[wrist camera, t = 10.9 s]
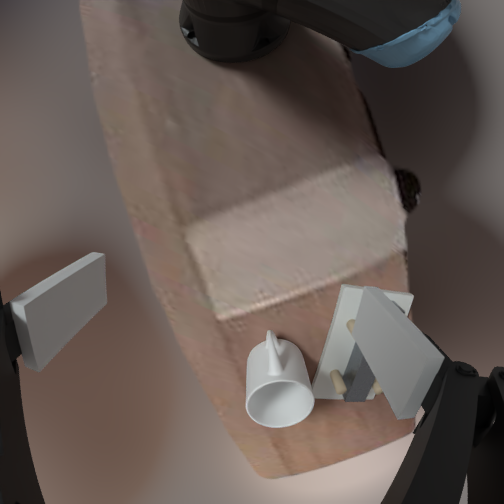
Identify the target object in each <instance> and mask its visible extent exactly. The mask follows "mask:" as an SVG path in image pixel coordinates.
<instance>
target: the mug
mask: <svg viewBox="0 0 504 504" xmlns="http://www.w3.org/2000/svg"><path fill="white" fill-rule="evenodd" d="M314 401H315V400H314V395H313V391H312V387H311V383H310V380H309V376H308V372H307V369H306V365H305V362H304V358H303V355H302V353H301V351H300V350H299V348H298V347H297V346H296V345H295V344H293V343H292V342H290V341H287V340H283V339H277V337H276V335H275V334H274V332H273V331H272V330H268V332H267V337H266V341H264V342H261V343H260V344H258V345H257V346H255V347H254V348H253V349H252V351H251V352H250V354H249V357H248V360H247V379H246V410H247V413H248V414H249V416H250V417H251V418H252V419H253V420H254V421H255V422H257V423H258V424H261V425H263V426H267V427H273V428H281V427H288V426H292V425H294V424H297V423H299V422H300V421H302V420H304V419H305V418H306V417H307V416H308V415H309V414H310V413H311V411H312V409H313V407H314Z"/></svg>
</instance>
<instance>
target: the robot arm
mask: <svg viewBox="0 0 504 504" xmlns="http://www.w3.org/2000/svg"><path fill="white" fill-rule="evenodd" d="M460 13H461V3H460V1H459V0H183V1H182V5H181V10H180V15H179V23H180V29H181V31H182V34H183V36H184V38H185V40H186V41H187V43H188V44H189V46H190V47H191V48H192V49H193V50H195V51H196V52H197V53H199V54H200V55H202V56H204V57H206V58H209V59H212V60H215V61H220V62H229V63H235V62H245V61H250V60H254V59H257V58H260V57H262V56H264V55H266V54H268V53H270V52H271V51H273V50H274V49H275V48H276V47H278V46H279V45H280V44H281V42H282V41H283V40H284V38H285V36H286V35H287V32H288V29H289V25H290V21H293V22H295V23H298V24H300V25H302V26H305V27H307V28H309V29H312V30H314V31H316V32H318V33H320V34H322V35H324V36H327V37H329V38H331V39H333V40H335V41H337V42H339V43H341V44H342V45H344V46H346V47H348V48H349V49H350V50H351V51H352V52H354V53H357V54H363V55H365V56H366V57H368V58H370V59H372V60H374V61H376V62H378V63H379V64H381V65H383V66H387V67H390V68H396V67H405V66H408V65H410V64H413V63H415V62H417V61H419V60H420V59H422V58H423V57H425V56H426V55H428V54H429V53H430V52H432V51H433V50H434V49H435V48H436V47H437V46H438V45H440V43H441V42H442V41H443V40H444V39H445V38H446V37H447V36H448V35H449V33H450V32H451V31H452V25H453V24H454V23H456V22H457V21H458V19H459V16H460ZM106 304H107V295H106V272H105V254H102V253H96V252H92V253H90V254H88V255H87V256H85V257H83V258H81V259H79V260H78V261H76V262H74V263H72V264H71V265H69V266H67V267H65V268H64V269H62V270H60V271H59V272H57V273H55V274H53V275H52V276H50V277H48V278H47V279H45V280H43V281H42V282H40V283H38V284H37V285H35V286H34V287H32V288H30V289H28V290H27V291H25V292H24V293H22V294H20V295H19V296H17V297H16V298H14V299H12V300H11V301H9V302H8V303H6V304H5V305H3V303H2V298H1V292H0V504H45V502H44V499H43V496H42V492H41V489H40V486H39V483H38V480H37V476H36V472H35V468H34V464H33V461H32V457H31V452H30V447H29V442H28V437H27V432H26V427H25V420H24V414H23V407H22V399H21V390H20V378H19V367H18V363H17V360H16V358H17V357H18V356H20V355H21V354H22V357H23V360H24V364H25V366H26V367H28V368H30V369H32V370H35V371H37V372H40V371H41V370H42V369H43V368H44V367H45V366H46V365H47V364H48V363H49V361H50V360H51V359H52V358H53V357H54V356H55V355H56V354H57V353H58V352H59V351H60V350H61V349H62V348H63V347H64V346H65V345H66V344H67V343H68V342H69V341H70V340H71V338H73V337H74V336H75V334H76V333H77V332H78V331H79V330H80V329H81V328H82V327H83V326H84V325H85V324H86V323H87V322H88V321H89V320H90V319H91V318H92V317H93V316H94V315H96V314H97V313H98V312H99V310H101V309H102V308H103V307H104V306H105V305H106ZM352 336H353V338H354V339H355V341H356V343H357V345H358V346H359V348H360V350H361V352H362V354H363V355H364V357H365V359H366V361H367V363H368V365H369V366H370V368H371V370H372V372H373V374H374V376H375V377H376V379H377V381H378V383H379V385H380V387H381V389H382V391H383V392H384V394H385V396H386V398H387V400H388V402H389V404H390V406H391V408H392V410H393V412H394V414H395V416H396V417H397V419H398V420H400V419H408V418H414V417H415V415H416V414H417V412H418V410H419V408H420V406H422V407H423V409H424V411H425V413H424V415H423V417H422V419H421V420H420V422H419V423H418V425H417V427H416V428H415V430H414V432H413V433H414V434H415V435H414V438H413V440H412V443H411V445H410V447H409V449H408V452H407V454H406V456H405V458H404V460H403V462H402V464H401V466H400V468H399V471H398V472H397V474H396V476H395V478H394V480H393V482H392V484H391V486H390V488H389V490H388V491H387V493H386V495H385V497H384V499H383V501H382V502H381V504H459V501H460V498H461V494H462V491H463V487H464V483H465V478H466V474H467V483H468V504H504V367H494V369H493V370H492V372H491V374H490V376H489V378H488V377H479V374H478V372H477V370H476V369H475V368H474V367H472V366H471V365H469V364H467V363H464V362H460V361H457V362H456V361H455V362H452V361H451V360H450V358H449V357H448V356H447V355H446V354H445V353H444V352H443V351H442V350H441V349H439V346H437V345H436V344H435V342H434V341H433V340H432V339H431V338H430V337H429V336H428V335H426V334H424V333H422V332H421V331H420V330H419V329H418V328H417V327H416V326H415V325H414V324H413V323H412V322H411V321H410V320H409V319H408V317H407V316H406V315H405V314H404V313H403V312H402V311H401V310H400V309H399V308H398V307H397V306H396V305H395V304H394V303H393V302H392V301H391V300H390V299H389V298H388V297H387V296H386V295H385V294H384V293H383V292H382V291H381V290H380V289H379V288H378V287H371V286H364V290H363V294H362V297H361V301H360V305H359V309H358V313H357V316H356V320H355V323H354V327H353V330H352ZM494 421H495V422H494ZM493 422H494V424H493Z"/></svg>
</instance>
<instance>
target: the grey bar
mask: <svg viewBox="0 0 504 504" xmlns="http://www.w3.org/2000/svg"><path fill="white" fill-rule="evenodd" d="M392 302H393V303H394V304H395V305H396V306H397V307H398V308H399V309H400V310H401V311H402V312H403V313H404V314H405V311H404V310H403V309H402V308H401V307H400V306H399V305H398V304H397V303H396V302H395V301H392ZM375 378H376V377H375V376H374V374H373V372H372V370H371V368H370V366H369V365H368V363H367V361H366V359H365V357H364V355H363V354H362V352H361V350H360V348H359V346H358V345H357V343H356V342H355V345H354V348H353V350H352V353H351V356H350V359H349V361H348V364H347V367H346V370H345V372H344V375H343V377H342V379H343V381H344V384H345V386H346V389H347V390H346V392H345V393H344V394H342V395H343V398H344V401H345V402H365V400H366V398H367V396H368V394H369V391H370V389H371V387H372V385H373V383H374V380H375Z"/></svg>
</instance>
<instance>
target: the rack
mask: <svg viewBox="0 0 504 504" xmlns="http://www.w3.org/2000/svg"><path fill="white" fill-rule="evenodd" d="M363 290H364V287H361V286H353V285H346V284H342V286H341V289H340V293H339V297H338V301H337V304H336V308H335V312H334V315H333V319H332V322H331V326H330V329H329V332H328V336H327V339H326V342H325V346H324V349H323V352H322V355H321V358H320V361H319V364H318V367H317V370H316V373H315V376H314V379H313V382H312V385H311V387H312V391H313V395H314V398H316V399H344V398H343V395H342V394H344V393H345V392H346V390H347V389H346V386H345V384H344V381H343V379H342V377H343V375H344V372H345V370H346V367H347V364H348V361H349V359H350V356H351V353H352V350H353V348H354V345H355V342H356V341H355V339H354V338H353V336H352V330H353V327H354V323H355V320H356V316H357V313H358V309H359V305H360V301H361V297H362V294H363ZM380 290H381V291H382V292H383V293H384V294H385V295H386V296H387V297H388V298H389V299H390V300H391V301H395V302H396V303H397V304H398V305H399V306H400V307H401V308H402V309H403V310H404V311H405V315H406V316H408V313H409V310H410V307H411V304H412V301H413V298H414V296H413V295H412V294H411V293H405V292H397V291H390V290H382V289H380ZM382 393H383V391H382V389H381V387H380V385H379V383H378V381H377V379H376V378H375V380H374V383H373V385H372V387H371V389H370V391H369V394H368V396H367V398H366V399H374V396H375V394H377V395H379V394H382Z"/></svg>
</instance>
